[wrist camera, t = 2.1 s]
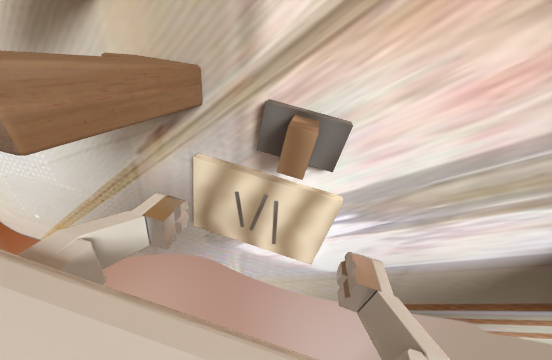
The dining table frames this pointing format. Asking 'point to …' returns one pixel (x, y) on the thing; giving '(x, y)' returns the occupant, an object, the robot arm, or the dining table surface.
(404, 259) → the dining table surface
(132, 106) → the wooden block
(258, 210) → the birch board
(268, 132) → the block
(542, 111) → the dining table surface
